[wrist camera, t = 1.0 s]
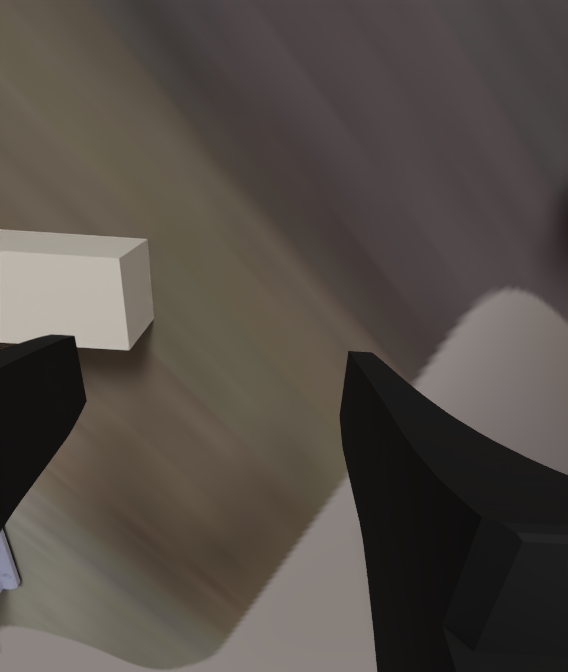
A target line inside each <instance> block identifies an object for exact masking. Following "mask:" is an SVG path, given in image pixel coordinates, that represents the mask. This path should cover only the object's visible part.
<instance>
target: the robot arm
mask: <svg viewBox="0 0 568 672" xmlns="http://www.w3.org/2000/svg"><path fill="white" fill-rule="evenodd" d="M86 401H87V400H86V395H85V389H84V384H83V378H82V373H81V368H80V362H79V357H78V351H77V346H76V340H75V336H71V335H54V334H51V335H46V336H42V337H38V338H34V339H31V340H28V341H25V342H22V343H19V344H16V345H13V346H10V347H7V348H4V349H2V350H0V593H1V592H2V590H3V589H16V588H17V587H18V585H19V584H20V579H19V576H18V573H17V570H16V567H15V564H14V561H13V558H12V555H11V552H10V549H9V546H8V543H7V540H6V537H5V534H4V531H3V527H4V525H5V524H6V522H7V521H8V519H9V518H10V516H11V515H12V513H13V512H14V510H15V509H16V507H17V506H18V504H19V503H20V501H21V500H22V499H23V497H24V496H25V495H26V493H27V492H28V490H29V489H30V488H31V486H32V485H33V484H34V482H35V481H36V480H37V478H38V477H39V475H40V474H41V473H42V471H43V470H44V469H45V467H46V466H47V465H48V463H49V462H50V460H51V459H52V458H53V456H54V455H55V454H56V452H57V451H58V449H59V448H60V447H61V445H62V444H63V442H64V441H65V440H66V438H67V437H68V435H69V434H70V432H71V431H72V429H73V427H74V425H75V423H76V421H77V420H78V418H79V416H80V414H81V412H82V409H83V407H84V405H85V403H86ZM340 425H341V436H342V446H343V451H344V456H345V461H346V465H347V469H348V474H349V478H350V483H351V487H352V491H353V495H354V500H355V504H356V508H357V513H358V517H359V521H360V527H361V532H362V538H363V544H364V552H365V560H366V568H367V577H368V585H369V594H370V603H371V612H372V621H373V630H374V640H375V651H376V662H377V672H568V475H566V474H563V473H561V472H558V471H556V470H553V469H551V468H549V467H547V466H544V465H542V464H540V463H538V462H536V461H533V460H531V459H529V458H526V457H525V456H523V455H521V454H519V453H517V452H515V451H513V450H511V449H509V448H507V447H505V446H503V445H501V444H499V443H497V442H495V441H493V440H491V439H490V438H488V437H486V436H484V435H482V434H481V433H479V432H477V431H476V430H474V429H472V428H471V427H469V426H467V425H466V424H464V423H462V422H461V421H459V420H458V419H456V418H454V417H453V416H451V415H450V414H448V413H447V412H445V411H444V410H443V409H441V408H440V407H438V406H437V405H436V404H434V403H433V402H432V401H430V400H429V399H428V398H426V397H425V396H423V395H422V394H421V393H420V392H418V391H417V390H416V389H415V388H413V387H412V386H411V385H410V384H409V383H407V382H406V381H405V380H404V379H403V378H401V377H400V376H399V375H398V374H397V373H396V372H394V371H393V370H392V369H391V368H390V367H389V366H388V365H386V364H385V363H384V362H383V361H382V360H381V359H379V358H378V357H377V356H376V355H374V354H373V353H371V352H354V351H348V359H347V366H346V373H345V380H344V388H343V395H342V402H341V409H340Z"/></svg>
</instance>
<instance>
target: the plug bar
mask: <svg viewBox="0 0 568 672" xmlns="http://www.w3.org/2000/svg"><path fill="white" fill-rule="evenodd" d="M153 319H154V314H153V301H152V289H151V277H150V264H149V252H148V240H147V239H138V238H123V237H108V236H92V235H77V234H62V233H47V232H32V231H16V230H1V229H0V343H17V344H19V343H22V342H25V341H28V340H31V339H34V338H38V337H42V336H46V335H51V334H54V335H71V336H75V340H76V346H77V347H82V348H98V349H114V350H130V349H131V348H132V346H133V345H134V344H135V343H136V341H137V340H138V339H139V337H140V336H141V335H142V334H143V332H144V331H145V330H146V328H147V327H148V326H149V324H150V323H151V322H152V321H153Z"/></svg>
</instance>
